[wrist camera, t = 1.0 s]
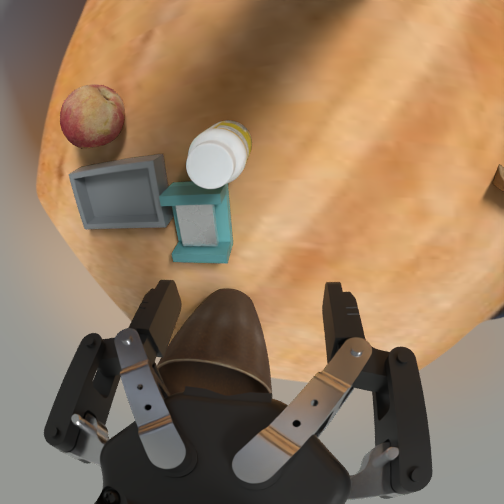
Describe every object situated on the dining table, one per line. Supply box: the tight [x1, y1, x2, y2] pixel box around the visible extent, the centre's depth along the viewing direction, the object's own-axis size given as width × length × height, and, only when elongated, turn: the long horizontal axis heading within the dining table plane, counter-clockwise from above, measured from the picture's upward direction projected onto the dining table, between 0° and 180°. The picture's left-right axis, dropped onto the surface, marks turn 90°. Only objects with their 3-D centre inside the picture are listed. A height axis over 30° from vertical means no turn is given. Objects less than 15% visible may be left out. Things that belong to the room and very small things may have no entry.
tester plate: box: [176, 205, 219, 247], centre depth 32 cm, size 6×4×1 cm
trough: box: [69, 154, 174, 229], centre depth 32 cm, size 9×14×3 cm, turn 92°
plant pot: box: [157, 289, 272, 396], centre depth 37 cm, size 15×15×16 cm
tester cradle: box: [159, 181, 233, 263], centre depth 33 cm, size 9×7×4 cm
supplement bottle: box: [186, 120, 252, 189], centre depth 25 cm, size 5×5×10 cm
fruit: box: [60, 85, 125, 149], centre depth 24 cm, size 8×8×8 cm
